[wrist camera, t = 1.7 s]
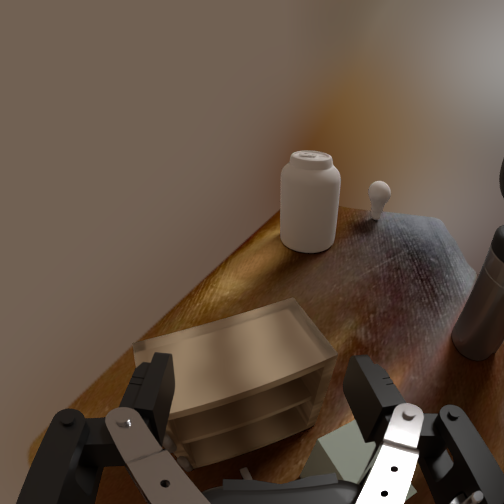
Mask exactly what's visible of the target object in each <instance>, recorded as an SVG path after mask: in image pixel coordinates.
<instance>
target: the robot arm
mask: <svg viewBox="0 0 504 504" xmlns="http://www.w3.org/2000/svg"><path fill="white" fill-rule="evenodd" d="M499 180H500V181H499V182H500V189H501V193H502V196H503V198H504V159H503V162H502V166H501V170H500V178H499ZM452 340H453V343H454V345H455V347H456V348H457V349H458V351H459V352H460V353H461V354H463V355H464V356H465V357H467V358H469V359H472V360H477V361H480V360H485V359H487V358H488V357H489V356H490V355H491V354H492V353H496V351H497V350H498V349H499V347H500V346H501V344H502V343H503V341H504V225H502V226H500V227H499V228H498V229H497V230H496V232H495V234H494V237H493V240H492V243H491V246H490V248H489V251H488V254H487V256H486V259H485V262H484V264H483V266H482V269H481V271H480V274H479V276H478V278H477V281H476V283H475V285H474V287H473V290H472V292H471V294H470V296H469V298H468V300H467V302H466V305H465V307H464V309H463V311H462V312H461V314H460V316H459V318H458V320H457V322H456V324H455V326H454V328H453V330H452ZM343 391H344V394H345V397H346V399H347V401H348V404H349V406H350V408H351V411H352V413H353V415H354V418H355V420H356V423H357V425H358V427H359V430H360V432H361V434H362V437H363V439H364V442H365V443H369V442H375V444H376V446H375V447H374V449H373V451H372V454H371V456H370V458H369V460H368V462H367V465H366V467H365V469H364V471H363V473H362V475H361V477H360V479H359V481H358V482H357V484H356V483H353V482H350V481H346V480H337V476H336V473H330V474H323V475H315V476H308V477H305V478H302V479H299V480H296V481H292V482H289V483H285V484H275V483H268V482H262V481H257V480H235V479H223V486H219V487H215V488H211V489H208V490H205V491H203V492H200V491H199V490H198V488H197V487H196V486H195V485H194V484H193V483H192V481H191V480H190V479H189V478H188V476H187V475H186V474H185V473H184V471H183V470H182V469H181V468H180V466H179V465H178V464H177V462H176V461H175V460H174V458H173V457H172V456H171V454H170V453H169V452H168V451H167V450H166V449H162V448H161V447H162V445H163V440H164V436H165V431H166V427H167V422H168V418H169V414H170V409H171V405H172V401H173V396H174V392H175V375H174V366H173V357H172V354H170V353H160V352H155V353H154V355H153V358H152V360H151V363H149V362H142V363H141V364H140V365H139V366H138V367H137V368H135V371H134V373H133V375H132V378H131V380H130V382H129V385H128V387H127V389H126V391H125V394H124V396H123V399H122V401H121V403H120V406H119V408H116V409H113V410H112V411H110V412H109V413H108V414H107V416H106V417H104V418H85V417H84V415H83V414H82V413H81V412H80V411H78V410H75V409H64V410H61V411H59V412H58V413H57V414H56V415H55V416H54V417H53V419H52V421H51V423H50V426H49V428H48V430H47V432H46V434H45V436H44V438H43V440H42V442H41V444H40V447H39V449H38V451H37V453H36V456H35V458H34V460H33V462H32V465H31V467H30V469H29V472H28V474H27V477H26V479H25V482H24V484H23V487H22V489H21V492H20V494H19V497H18V500H17V503H16V504H95V500H96V496H97V491H98V487H99V483H100V479H101V475H102V472H103V468H104V467H107V466H125V468H126V470H127V471H128V473H129V475H130V476H131V478H132V480H133V482H134V483H135V485H136V487H137V488H138V490H139V491H140V493H141V495H142V496H143V498H144V499H145V501H146V503H147V504H403V503H404V500H405V497H406V494H407V491H408V488H409V485H410V482H411V479H412V476H413V473H414V469H415V466H416V463H417V461H418V463H419V465H420V467H421V470H422V472H423V474H424V477H425V479H426V481H427V484H428V486H429V489H430V491H431V493H432V496H433V498H434V501H435V503H436V504H504V474H503V472H502V470H501V469H500V467H499V465H498V464H497V462H496V460H495V459H494V457H493V455H492V454H491V452H490V451H489V449H488V447H487V446H486V444H485V443H484V441H483V439H482V438H481V436H480V435H479V433H478V432H477V430H476V429H475V427H474V426H473V424H472V423H471V421H470V420H469V418H468V417H467V415H466V414H465V412H464V411H463V410H462V409H461V408H460V407H458V406H455V405H446V406H444V407H442V408H441V410H440V412H439V413H438V414H425V413H423V412H422V410H421V409H420V408H419V407H417V406H415V405H413V404H409V403H406V402H405V400H404V399H403V397H402V395H401V394H400V392H399V391H398V389H397V388H396V386H395V384H393V381H392V380H391V379H390V377H389V375H388V374H387V372H386V370H384V369H383V368H382V367H381V366H379V365H378V364H373V362H372V360H371V359H370V357H369V356H368V355H358V356H352V357H351V358H350V360H349V364H348V367H347V371H346V374H345V378H344V381H343ZM447 447H448V449H449V450H450V452H451V454H452V456H453V459H454V463H453V462H452V460H451V458H450V456H449V454H448V452H447V451H446V449H447Z"/></svg>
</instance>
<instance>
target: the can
mask: <svg viewBox="0 0 504 504" xmlns="http://www.w3.org/2000/svg"><path fill="white" fill-rule="evenodd" d="M340 182H341V178H340V173H339V171H338V170H337V168H336V167H335V166H334V165H333V160H332V157H331V156H330V155H328V154H326V153H323V152H319V151H298V152H295V153H293V154H292V155H291V157H290V162H289V163H288V164H287V165H286V166H285V167H283V169H282V173H281V209H280V239H281V241H282V242H283V244H284V245H285V246H287V247H288V248H290V249H292V250H295V251H298V252H304V253H316V252H322V251H324V250H326V249H328V248H329V247H330V246H331V245H332V244H333V242H334V239H335V231H336V222H337V213H338V203H339V193H340Z"/></svg>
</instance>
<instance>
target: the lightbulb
mask: <svg viewBox="0 0 504 504" xmlns="http://www.w3.org/2000/svg"><path fill="white" fill-rule="evenodd" d="M368 195H369V198H370V201H371V210H372V214H371V217H372V218H373V219H374V220H378V219H380V216H381V212H382V211H383V207H384V205H385V203H387V201H388V200H389V199H390V195H391V191H390V188H389V186H388V185H387V184H386V183H385V182H382V181H376V182H374V183H372V184H371V185H370V187H369V189H368Z"/></svg>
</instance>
